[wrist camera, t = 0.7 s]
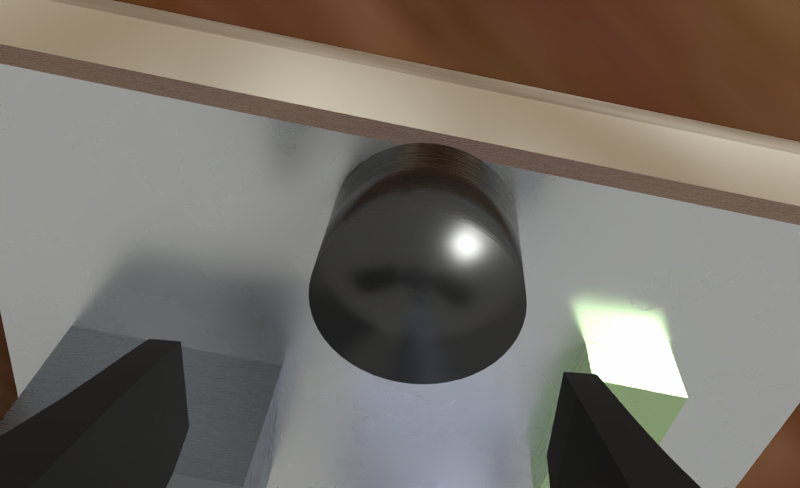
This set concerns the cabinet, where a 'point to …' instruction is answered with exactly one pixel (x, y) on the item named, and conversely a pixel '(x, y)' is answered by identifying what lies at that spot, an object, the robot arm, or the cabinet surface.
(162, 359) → the robot arm
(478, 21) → the cabinet surface
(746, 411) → the leveling plate
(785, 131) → the cabinet surface
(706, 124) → the leveling base
